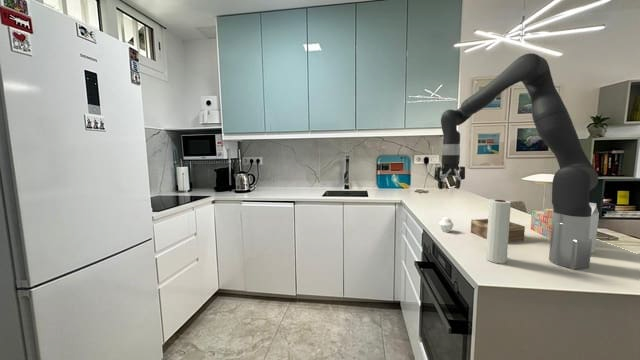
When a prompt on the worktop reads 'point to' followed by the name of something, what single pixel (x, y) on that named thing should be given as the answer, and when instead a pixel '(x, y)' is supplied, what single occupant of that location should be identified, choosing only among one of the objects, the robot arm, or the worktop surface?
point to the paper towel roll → (498, 230)
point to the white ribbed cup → (446, 224)
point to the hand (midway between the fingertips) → (449, 188)
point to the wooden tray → (481, 228)
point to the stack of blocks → (542, 222)
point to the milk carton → (593, 225)
